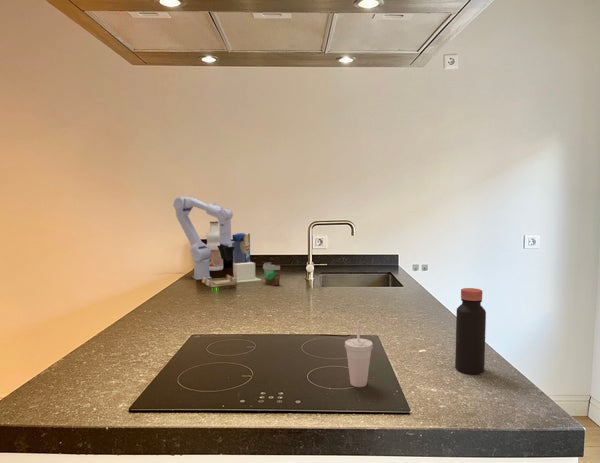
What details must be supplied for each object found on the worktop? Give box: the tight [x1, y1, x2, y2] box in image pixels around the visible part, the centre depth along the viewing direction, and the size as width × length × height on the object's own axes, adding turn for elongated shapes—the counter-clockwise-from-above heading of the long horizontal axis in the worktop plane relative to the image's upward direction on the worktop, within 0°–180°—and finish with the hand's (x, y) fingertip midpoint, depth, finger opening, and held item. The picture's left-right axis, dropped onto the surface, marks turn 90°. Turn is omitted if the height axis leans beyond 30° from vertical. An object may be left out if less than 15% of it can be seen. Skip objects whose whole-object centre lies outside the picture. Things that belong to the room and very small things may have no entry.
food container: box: [262, 261, 281, 287], centre depth 219 cm, size 12×6×10 cm, turn 25°
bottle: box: [454, 287, 487, 375], centre depth 112 cm, size 7×7×20 cm
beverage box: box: [231, 232, 251, 277], centre depth 247 cm, size 7×11×22 cm, turn 173°
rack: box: [201, 274, 238, 288], centre depth 222 cm, size 14×13×3 cm
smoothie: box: [344, 322, 374, 388], centre depth 104 cm, size 6×6×14 cm
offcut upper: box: [213, 280, 231, 284], centre depth 218 cm, size 4×8×1 cm, turn 121°
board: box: [237, 276, 263, 284], centre depth 232 cm, size 13×13×1 cm
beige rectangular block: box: [233, 261, 256, 281], centre depth 231 cm, size 4×10×8 cm, turn 118°
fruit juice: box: [206, 220, 224, 272], centre depth 263 cm, size 9×9×28 cm
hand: (226, 259), depth 230 cm, fingers open, 7 cm apart
